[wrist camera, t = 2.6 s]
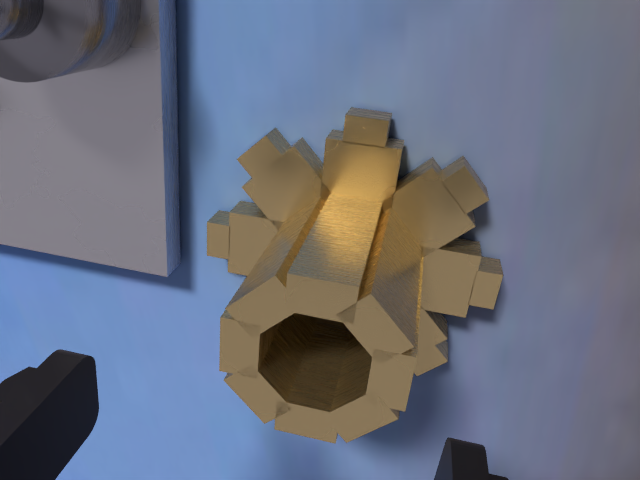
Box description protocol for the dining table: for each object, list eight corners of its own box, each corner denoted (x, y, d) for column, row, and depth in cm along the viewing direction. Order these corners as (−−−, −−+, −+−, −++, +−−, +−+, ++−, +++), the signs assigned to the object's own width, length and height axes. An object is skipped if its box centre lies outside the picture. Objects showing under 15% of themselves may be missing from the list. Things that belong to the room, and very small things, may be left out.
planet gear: (535, 133, 17) (587, 213, 11) (463, 388, 22) (472, 545, 16) (220, 88, 19) (112, 137, 13) (216, 336, 23) (136, 461, 17)
